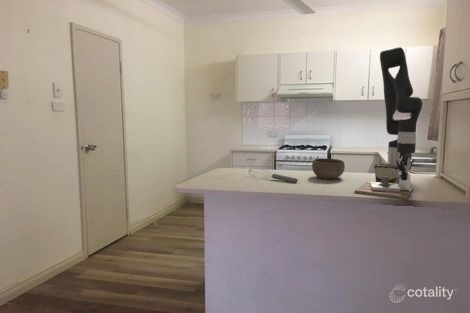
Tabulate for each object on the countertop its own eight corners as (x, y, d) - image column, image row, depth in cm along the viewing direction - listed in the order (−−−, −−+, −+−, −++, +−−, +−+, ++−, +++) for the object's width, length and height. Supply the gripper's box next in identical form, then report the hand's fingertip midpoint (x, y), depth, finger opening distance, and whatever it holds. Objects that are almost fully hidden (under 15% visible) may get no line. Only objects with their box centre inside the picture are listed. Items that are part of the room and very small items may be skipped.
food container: (399, 183, 187) (400, 164, 186) (398, 185, 182) (399, 166, 181) (374, 181, 193) (375, 162, 192) (372, 183, 188) (373, 164, 187)
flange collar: (371, 190, 165) (372, 173, 164) (370, 185, 177) (371, 169, 176) (411, 192, 160) (412, 175, 159) (407, 187, 172) (408, 171, 171)
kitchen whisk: (297, 184, 186) (297, 172, 185) (246, 177, 207) (245, 166, 206) (303, 183, 190) (303, 171, 189) (252, 176, 212) (252, 165, 211)
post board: (366, 184, 184) (366, 171, 184) (413, 189, 172) (414, 175, 172) (354, 192, 166) (355, 178, 165) (406, 199, 154) (407, 183, 153)
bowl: (347, 180, 195) (348, 162, 194) (315, 180, 195) (315, 162, 194) (339, 174, 212) (340, 158, 211) (309, 174, 212) (309, 158, 211)
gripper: (404, 140, 168) (402, 177, 170) (391, 142, 159) (389, 180, 161) (421, 141, 162) (418, 179, 164) (408, 143, 154) (406, 183, 156)
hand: (404, 180), depth 163 cm, fingers closed
